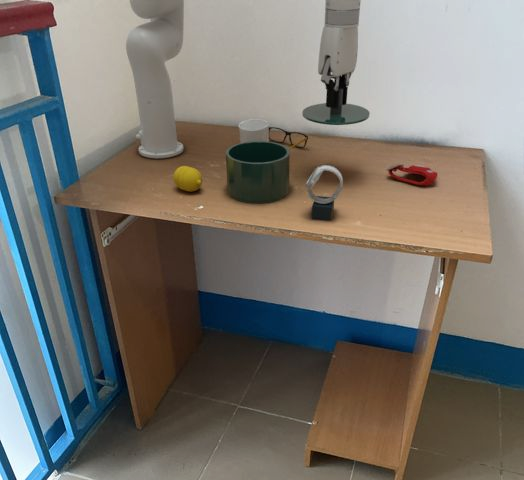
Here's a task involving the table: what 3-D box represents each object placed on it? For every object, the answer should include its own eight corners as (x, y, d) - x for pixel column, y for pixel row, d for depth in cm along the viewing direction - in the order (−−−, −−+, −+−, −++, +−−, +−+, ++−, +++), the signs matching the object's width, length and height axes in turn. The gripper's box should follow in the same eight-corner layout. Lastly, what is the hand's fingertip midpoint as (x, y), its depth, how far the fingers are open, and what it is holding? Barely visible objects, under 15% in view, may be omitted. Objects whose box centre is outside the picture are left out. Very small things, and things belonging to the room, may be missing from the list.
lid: (288, 119, 135) (289, 90, 131) (325, 103, 145) (326, 76, 141) (346, 132, 127) (349, 101, 123) (381, 114, 137) (384, 85, 133)
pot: (215, 192, 137) (212, 154, 131) (253, 173, 146) (252, 136, 140) (263, 208, 130) (263, 168, 124) (300, 187, 139) (302, 149, 133)
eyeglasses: (309, 148, 160) (310, 134, 158) (281, 164, 151) (281, 149, 149) (268, 139, 167) (268, 125, 164) (239, 153, 158) (238, 139, 155)
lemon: (168, 189, 139) (165, 167, 136) (184, 182, 143) (182, 160, 139) (193, 198, 135) (191, 175, 131) (209, 190, 138) (207, 168, 135)
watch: (306, 207, 130) (308, 161, 123) (341, 210, 129) (345, 163, 122) (302, 218, 126) (304, 170, 119) (338, 221, 125) (342, 173, 118)
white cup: (267, 168, 149) (265, 130, 142) (238, 167, 150) (235, 129, 144) (272, 155, 155) (271, 119, 148) (245, 154, 156) (242, 118, 149)
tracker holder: (424, 165, 147) (448, 169, 138) (420, 183, 148) (443, 188, 140) (384, 160, 142) (406, 164, 134) (381, 178, 144) (402, 183, 135)
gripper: (346, 11, 130) (340, 95, 141) (306, 21, 120) (303, 111, 132) (375, 14, 126) (366, 100, 138) (336, 24, 116) (331, 117, 128)
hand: (336, 105), depth 135 cm, fingers closed on lid, 2 cm apart
